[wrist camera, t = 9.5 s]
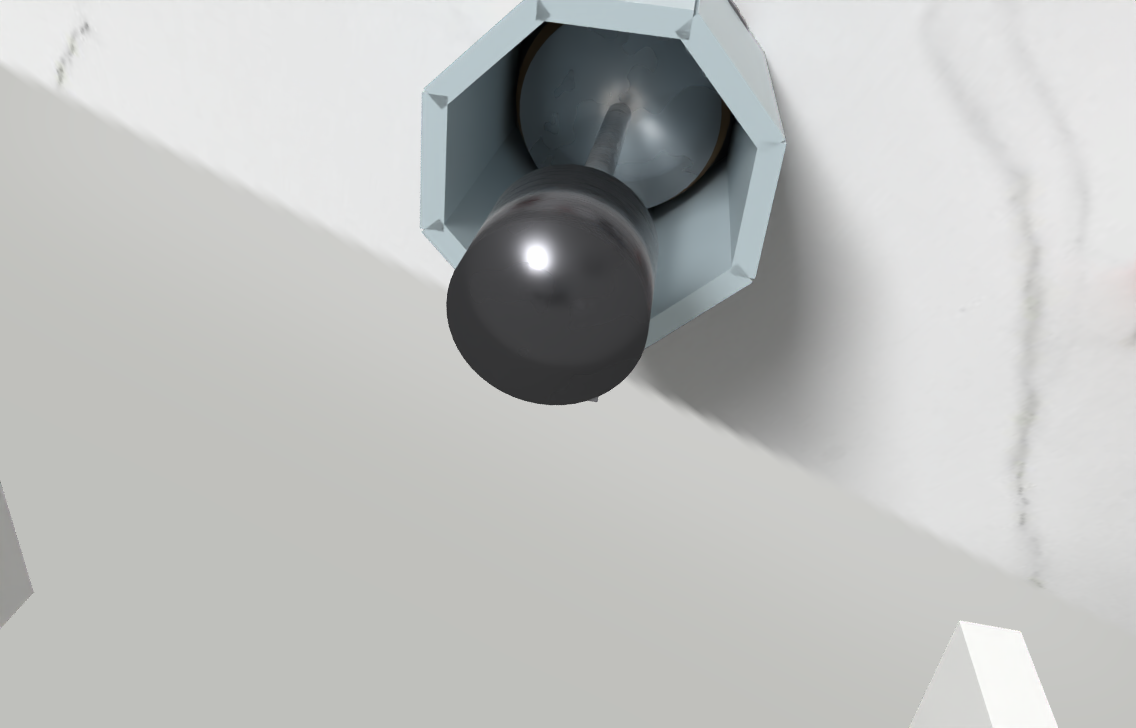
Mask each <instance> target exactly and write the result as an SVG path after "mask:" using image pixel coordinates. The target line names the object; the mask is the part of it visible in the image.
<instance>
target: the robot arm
mask: <svg viewBox="0 0 1136 728" xmlns="http://www.w3.org/2000/svg"><path fill="white" fill-rule="evenodd" d="M32 594H33V589H32V585H31V582H30V579H29V576H28V572H27V569H26V565H25V562H24V559H23V555H22V552H21V549H20V546H19V542H18V539H17V535H16V532H15V529H14V525H13V522H12V519H11V516H10V512H9V509H8V505H7V502H6V499H5V495H4V492H3V489H2V485H1V482H0V628H1V627H2V626H3V625H4V624H5V623H6V622H7V621H8V620H9V619H10V618H11V616H12V615H13V614H14V613H15V612H16V611H17V610H18V609H19V608H20V607H21V606H22V604H23V603H24V602H25V601H26V600H27V599H28V598H29V597H30V596H31V595H32ZM909 728H1058V726H1057V723H1056V721H1055V718H1054V716H1053V713H1052V711H1051V708H1050V705H1049V703H1048V700H1047V698H1046V695H1045V692H1044V690H1043V687H1042V685H1041V682H1040V680H1039V677H1038V675H1037V672H1036V669H1035V667H1034V664H1033V662H1032V659H1031V657H1030V654H1029V652H1028V649H1027V646H1026V644H1025V641H1024V639H1023V636H1022V634H1021V631H1016V630H1010V629H1005V628H999V627H992V626H988V625H982V624H976V623H971V622H965V621H959V622H958V624H957V626H956V628H955V630H954V632H953V634H952V637H951V639H950V641H949V643H948V645H947V647H946V650H945V651H944V654H943V656H942V658H941V660H940V662H939V664H938V666H937V668H936V671H935V673H934V675H933V677H932V679H931V681H930V684H929V686H928V688H927V690H926V692H925V694H924V696H923V698H922V700H921V703H920V704H919V707H918V709H917V711H916V713H915V715H914V717H913V720H912V721H911V724H910V726H909Z"/></svg>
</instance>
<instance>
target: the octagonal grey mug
mask: <svg viewBox="0 0 1136 728" xmlns="http://www.w3.org/2000/svg"><path fill="white" fill-rule="evenodd" d="M563 24H570V25H578V26H585V27H593V28H600V29H608V30H615V31H623V32H630V33H638V34H645V35H653V36H661V37H668V38H676V39H681V41H682V42H683V44H684V45H685V47H686V48H687V49H688V51H689V52H690V54H691V55H692V56H693V58H694V59H695V61H696V62H697V64H698V65H699V66H700V68H701V69H702V71H703V72H704V73H705V75H706V76H707V78H708V79H709V81H710V82H711V83H712V85H713V86H714V88H715V89H716V90H717V92H718V93H719V95H720V96H721V124H720V131H719V135H718V139H717V143H716V145H715V148H714V150H713V153H712V155H711V157H710V159H709V160H708V162H707V164H706V166H705V167H704V169H703V170H702V171H701V173H700V174H699V175H698V177H697V178H696V179H695V180H694V181H693V182H692V183H691V184H690V185H689V186H688V187H686V188H685V189H684V190H683V191H681V192H680V193H679V194H677V195H676V196H674V197H673V198H671V199H669V200H668V201H665V202H663V203H661V204H659V205H656V206H653V207H650V208H647V209H648V211H649V213H650V215H651V217H652V219H653V222H654V225H655V228H656V232H657V237H658V246H659V255H658V265H657V272H656V279H655V287H654V294H653V301H652V309H651V316H650V323H649V331H648V337H647V341H646V345H645V348H644V349H646V348H647V347H649V346H651V345H652V344H654V343H655V342H657V341H659V340H660V339H662V338H663V337H665V336H667V335H668V334H670V333H672V332H673V331H675V330H676V329H678V328H680V327H681V326H683V325H684V324H686V323H688V322H689V321H691V320H693V319H694V318H696V317H697V316H699V315H701V314H702V313H704V312H705V311H707V310H709V309H710V308H712V307H714V306H715V305H717V304H718V303H720V302H722V301H723V300H725V299H726V298H728V297H730V296H731V295H733V294H735V293H736V292H738V291H739V290H741V289H743V288H744V287H746V286H747V285H749V284H751V283H752V278H753V279H755V277H756V273H757V269H758V264H759V260H760V256H761V251H762V247H763V243H764V239H765V234H766V230H767V226H768V221H769V217H770V213H771V208H772V204H773V200H774V195H775V191H776V187H777V183H778V178H779V174H780V170H781V165H782V161H783V157H784V152H785V148H786V140H785V134H784V130H783V126H782V122H781V118H780V114H779V110H778V106H777V102H776V98H775V94H774V90H773V86H772V82H771V78H770V73H769V69H768V65H767V61H766V57H765V53H764V51H763V49H762V48H761V46H760V45H759V43H758V42H757V40H756V39H755V37H754V36H753V34H752V33H751V31H750V30H749V28H748V26H747V24H746V22H745V20H744V18H743V16H742V15H741V13H740V11H739V9H738V8H737V6H736V5H735V3H734V2H733V1H732V0H523V1H522V2H521V3H520V4H518V5H517V6H516V7H515V8H514V9H513V10H512V11H511V12H509V13H508V14H507V15H506V16H505V17H504V18H503V19H502V20H500V21H499V22H498V23H497V24H496V25H495V26H494V27H492V28H491V29H490V30H489V31H488V32H487V33H486V34H485V35H483V36H482V37H481V38H480V39H479V40H478V41H477V42H476V43H474V44H473V45H472V46H471V47H470V48H469V49H468V50H467V51H465V52H464V53H463V54H462V55H461V56H460V57H459V58H458V59H456V60H455V61H454V62H453V63H452V64H451V65H450V66H449V67H447V68H446V69H445V70H444V71H443V72H442V73H441V74H440V75H438V76H437V77H436V78H435V79H434V80H433V81H432V82H431V83H429V84H428V85H427V86H426V87H425V88H424V89H425V91H423V92H422V121H421V195H420V228H422V229H424V230H423V231H422V233H423V234H424V235H425V237H426V238H427V239H428V240H429V241H430V242H431V243H432V244H433V245H434V247H435V248H436V249H437V250H438V251H439V252H440V253H441V254H442V256H443V257H444V258H445V259H446V260H447V261H448V262H449V263H450V265H451V266H452V267H453V268H454V269H456V267H457V266H458V264H459V262H460V261H461V259H462V257H463V256H464V254H465V253H466V251H467V249H468V248H469V246H470V244H471V243H472V241H473V240H474V238H475V236H476V235H477V233H478V231H479V230H480V228H481V227H482V225H483V223H484V222H485V220H486V219H487V217H488V215H489V214H490V212H491V210H492V209H493V207H494V206H495V204H496V202H497V201H498V199H499V197H500V196H501V195H502V194H503V193H504V191H505V190H506V189H507V188H508V187H509V186H510V185H511V184H513V183H514V182H515V181H516V180H518V179H519V178H521V177H522V176H524V175H526V174H528V173H530V172H532V171H534V170H537V169H539V168H538V167H537V166H536V164H535V162H534V161H533V159H532V157H531V155H530V153H529V151H528V148H527V146H526V143H525V141H524V137H523V133H522V129H521V121H520V97H521V90H522V86H523V82H524V78H525V75H526V73H527V70H528V68H529V65H530V63H531V61H532V60H533V58H534V56H535V55H536V53H537V51H538V50H539V49H540V47H541V46H542V45H543V44H544V42H545V41H546V40H547V39H548V38H549V37H550V36H551V35H552V34H553V33H554V32H555V31H556V30H557V29H558V28H559V27H560V26H562V25H563ZM588 401H594V402H597V401H598V397H596V398H593V399H590V400H588Z"/></svg>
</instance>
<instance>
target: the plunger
mask: <svg viewBox="0 0 1136 728" xmlns="http://www.w3.org/2000/svg"><path fill="white" fill-rule="evenodd" d="M520 121H521V129H522V133H523V137H524V141H525V143H526V146H527V148H528V151H529V153H530V155H531V157H532V159H533V161H534V162H535V164H536V166H537V167H538V168H539V169H537V170H534V171H532V172H530V173H528V174H526V175H524V176H522V177H521V178H519V179H518V180H516V181H515V182H514V183H513V184H511V185H510V186H509V187H508V188H507V189H506V190H505V191H504V193H503V194H502V195H501V196H500V197H499V199H498V201H497V202H496V204H495V206H494V207H493V209H492V210H491V212H490V214H489V215H488V217H487V219H486V220H485V222H484V223H483V225H482V227H481V228H480V230H479V231H478V233H477V235H476V236H475V238H474V240H473V241H472V243H471V244H470V246H469V248H468V249H467V251H466V253H465V254H464V256H463V257H462V259H461V261H460V262H459V264H458V266H457V267H456V269H455V271H454V273H453V276H452V278H451V281H450V284H449V288H448V293H447V318H448V324H449V328H450V331H451V334H452V337H453V340H454V342H455V344H456V346H457V348H458V350H459V351H460V353H461V355H462V356H463V358H464V359H465V360H466V362H467V363H468V364H469V365H470V366H471V368H472V369H473V370H474V371H475V372H476V373H477V374H478V375H479V376H480V377H482V378H483V379H484V380H485V381H487V382H488V383H489V384H491V385H492V386H494V387H495V388H497V389H499V390H500V391H502V392H504V393H506V394H509V395H511V396H513V397H515V398H518V399H521V400H524V401H528V402H533V403H537V404H546V405H567V404H576V403H579V402H583V401H588V400H590V399H593V398H596V397H599V396H600V395H602V394H604V393H606V392H608V391H610V390H611V389H613V388H614V387H615V386H617V385H618V384H619V383H621V382H622V381H623V380H624V379H625V378H626V377H627V376H628V375H629V374H630V372H631V371H632V370H633V369H634V367H635V366H636V364H637V362H638V361H639V359H640V357H641V355H642V353H643V350H644V348H645V345H646V341H647V337H648V331H649V323H650V316H651V309H652V301H653V294H654V287H655V279H656V272H657V265H658V255H659V246H658V237H657V232H656V228H655V225H654V222H653V219H652V217H651V215H650V213H649V211H648V209H647V208H650V207H653V206H656V205H659V204H661V203H663V202H665V201H668V200H669V199H671V198H673V197H674V196H676V195H677V194H679V193H680V192H681V191H683V190H684V189H685V188H686V187H688V186H689V185H690V184H691V183H692V182H693V181H694V180H695V179H696V178H697V177H698V175H699V174H700V173H701V171H702V170H703V169H704V167H705V166H706V164H707V162H708V160H709V159H710V157H711V155H712V153H713V150H714V148H715V145H716V143H717V139H718V135H719V131H720V124H721V96H720V95H719V93H718V92H717V90H716V89H715V88H714V86H713V85H712V83H711V82H710V81H709V79H708V78H707V76H706V75H705V73H704V72H703V71H702V69H701V68H700V66H699V65H698V64H697V62H696V61H695V59H694V58H693V56H692V55H691V54H690V52H689V51H688V49H687V48H686V47H685V45H684V44H683V42H682V41H681V39H676V38H668V37H661V36H653V35H645V34H638V33H630V32H623V31H615V30H608V29H600V28H593V27H585V26H578V25H570V24H563V25H562V26H560V27H559V28H558V29H557V30H556V31H555V32H554V33H553V34H552V35H551V36H550V37H549V38H548V39H547V40H546V41H545V42H544V44H543V45H542V46H541V47H540V49H539V50H538V51H537V53H536V55H535V56H534V58H533V60H532V61H531V63H530V65H529V68H528V70H527V73H526V75H525V78H524V82H523V86H522V90H521V97H520Z"/></svg>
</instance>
